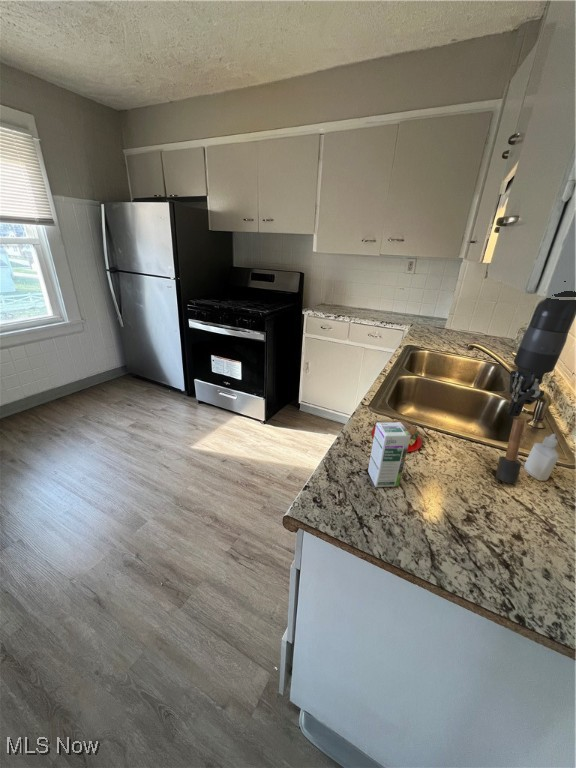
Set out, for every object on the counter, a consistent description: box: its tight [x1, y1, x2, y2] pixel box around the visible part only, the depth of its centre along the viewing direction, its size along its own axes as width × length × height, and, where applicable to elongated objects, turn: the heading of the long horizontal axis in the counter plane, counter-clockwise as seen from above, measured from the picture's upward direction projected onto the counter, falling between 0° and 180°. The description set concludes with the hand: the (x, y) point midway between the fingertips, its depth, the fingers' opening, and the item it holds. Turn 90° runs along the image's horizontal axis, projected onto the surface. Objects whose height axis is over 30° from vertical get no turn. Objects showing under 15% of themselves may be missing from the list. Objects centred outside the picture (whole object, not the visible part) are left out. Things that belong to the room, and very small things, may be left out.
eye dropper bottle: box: [523, 433, 560, 482], centre depth 77 cm, size 4×6×12 cm
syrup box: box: [367, 421, 410, 488], centre depth 72 cm, size 6×6×14 cm
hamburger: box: [371, 419, 423, 453], centre depth 90 cm, size 14×14×6 cm
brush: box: [495, 417, 526, 484], centre depth 75 cm, size 4×4×15 cm
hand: (512, 414), depth 77 cm, fingers closed
